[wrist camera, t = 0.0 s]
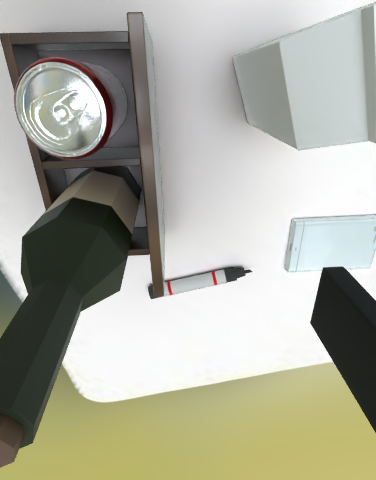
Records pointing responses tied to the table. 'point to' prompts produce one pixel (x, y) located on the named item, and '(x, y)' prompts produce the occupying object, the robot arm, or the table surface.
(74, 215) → the wine bottle
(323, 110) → the milk carton
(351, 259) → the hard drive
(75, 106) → the soda can
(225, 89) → the table surface
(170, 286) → the marker
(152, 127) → the divided wooden storage box
